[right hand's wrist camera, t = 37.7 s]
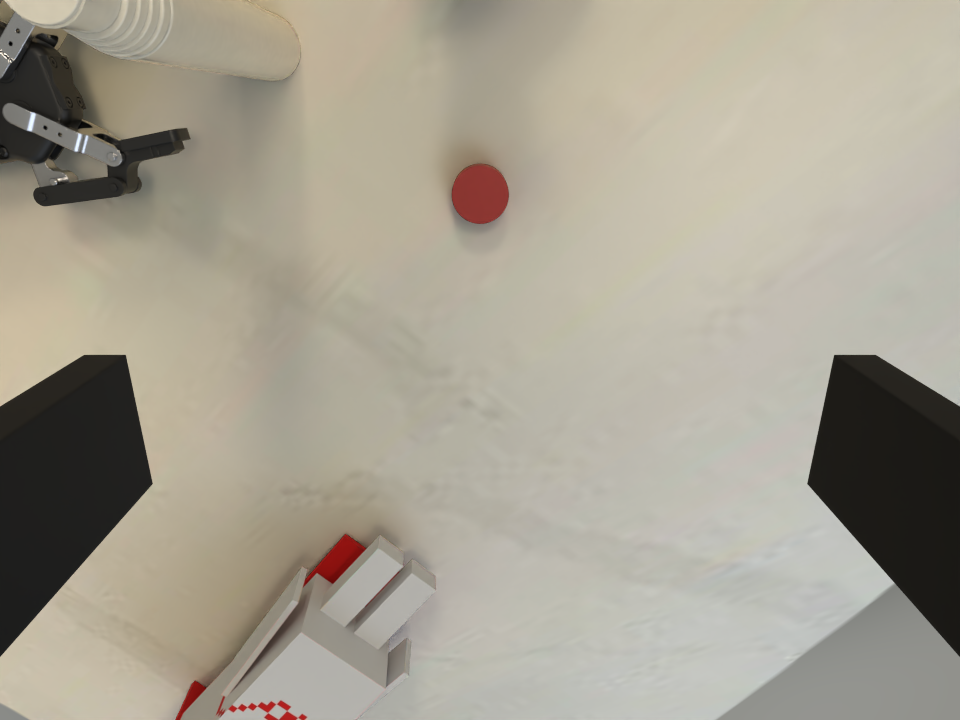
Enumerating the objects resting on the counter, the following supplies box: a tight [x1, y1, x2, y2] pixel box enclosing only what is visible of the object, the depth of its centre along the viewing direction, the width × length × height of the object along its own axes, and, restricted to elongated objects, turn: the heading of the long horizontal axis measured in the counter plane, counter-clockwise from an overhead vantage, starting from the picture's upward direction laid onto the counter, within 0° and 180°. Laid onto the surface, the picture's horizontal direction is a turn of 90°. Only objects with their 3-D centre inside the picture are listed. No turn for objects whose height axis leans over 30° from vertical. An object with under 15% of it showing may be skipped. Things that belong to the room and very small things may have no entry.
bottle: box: [4, 0, 301, 81], centre depth 33 cm, size 4×4×25 cm
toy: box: [175, 534, 436, 720], centre depth 58 cm, size 12×13×30 cm
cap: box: [452, 164, 509, 224], centre depth 47 cm, size 4×4×2 cm
